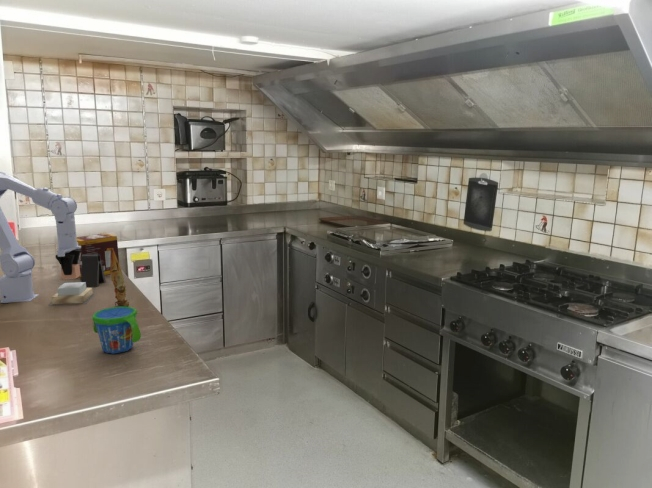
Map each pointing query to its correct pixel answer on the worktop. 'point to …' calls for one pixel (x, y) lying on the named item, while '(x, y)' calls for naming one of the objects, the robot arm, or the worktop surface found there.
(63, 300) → the oak slab
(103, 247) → the supplement box
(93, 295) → the rubber mat
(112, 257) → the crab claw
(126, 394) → the worktop surface
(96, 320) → the snack cup
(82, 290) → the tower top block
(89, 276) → the phone stand
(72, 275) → the terracotta block
